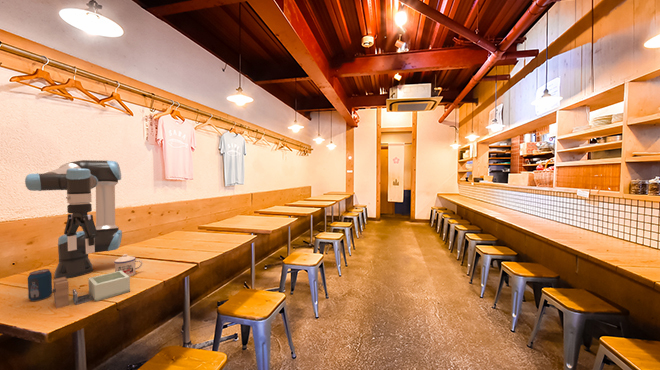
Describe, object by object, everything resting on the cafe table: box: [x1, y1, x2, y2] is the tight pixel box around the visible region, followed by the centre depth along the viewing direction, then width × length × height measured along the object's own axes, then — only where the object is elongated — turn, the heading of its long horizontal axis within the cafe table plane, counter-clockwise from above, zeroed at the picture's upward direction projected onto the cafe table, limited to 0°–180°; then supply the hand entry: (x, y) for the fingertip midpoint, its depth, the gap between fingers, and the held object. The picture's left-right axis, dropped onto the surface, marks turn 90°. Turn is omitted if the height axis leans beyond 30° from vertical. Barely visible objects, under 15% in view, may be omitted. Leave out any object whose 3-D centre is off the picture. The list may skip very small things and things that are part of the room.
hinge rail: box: [71, 288, 94, 306], centre depth 109 cm, size 8×6×5 cm
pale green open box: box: [87, 271, 131, 302], centre depth 116 cm, size 14×12×7 cm
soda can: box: [27, 268, 53, 302], centre depth 111 cm, size 7×7×12 cm
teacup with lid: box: [113, 253, 143, 278], centre depth 137 cm, size 12×9×12 cm
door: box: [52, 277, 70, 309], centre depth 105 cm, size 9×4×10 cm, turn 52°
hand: (81, 251), depth 109 cm, fingers open, 13 cm apart
